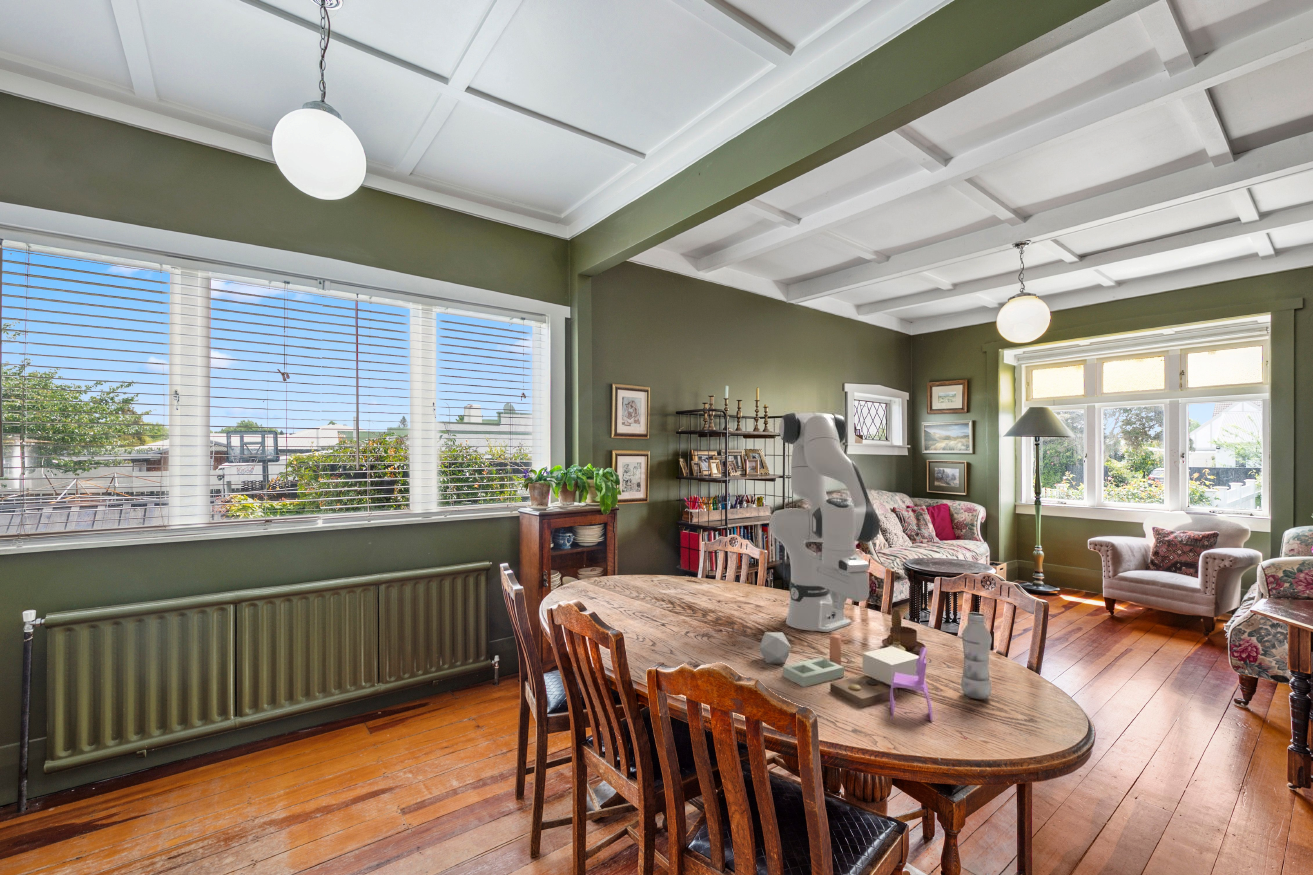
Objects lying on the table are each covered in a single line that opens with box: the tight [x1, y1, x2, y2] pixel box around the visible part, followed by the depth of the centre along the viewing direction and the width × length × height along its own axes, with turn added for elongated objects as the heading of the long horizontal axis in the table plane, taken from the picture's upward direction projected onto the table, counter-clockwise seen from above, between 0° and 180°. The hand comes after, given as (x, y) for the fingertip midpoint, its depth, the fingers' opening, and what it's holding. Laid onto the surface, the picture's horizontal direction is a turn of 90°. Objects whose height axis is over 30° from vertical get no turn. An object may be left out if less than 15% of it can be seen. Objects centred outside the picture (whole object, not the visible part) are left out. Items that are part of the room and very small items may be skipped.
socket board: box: [782, 656, 845, 688], centre depth 154 cm, size 14×8×2 cm, turn 119°
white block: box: [862, 646, 919, 686], centre depth 148 cm, size 11×9×5 cm
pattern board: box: [829, 673, 898, 708], centre depth 143 cm, size 12×10×2 cm
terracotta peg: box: [829, 634, 842, 666], centre depth 162 cm, size 3×3×8 cm
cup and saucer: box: [881, 625, 927, 655], centre depth 175 cm, size 12×12×6 cm
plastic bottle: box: [960, 611, 993, 700], centre depth 142 cm, size 6×7×20 cm
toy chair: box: [889, 646, 934, 723], centre depth 134 cm, size 8×9×15 cm
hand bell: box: [889, 607, 906, 651], centre depth 161 cm, size 8×8×16 cm
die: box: [758, 631, 792, 664], centre depth 165 cm, size 8×9×10 cm
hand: (838, 608), depth 160 cm, fingers closed
